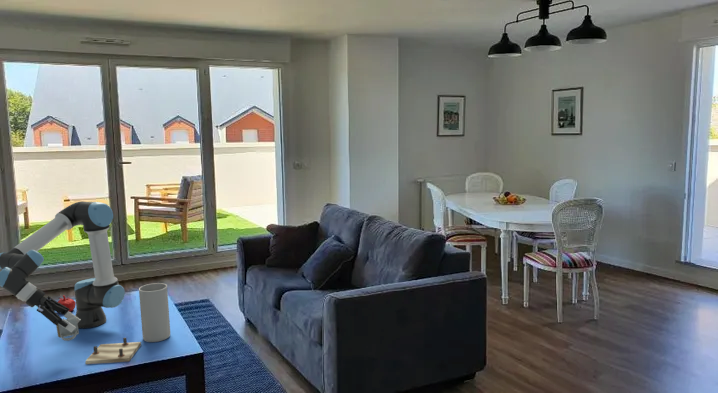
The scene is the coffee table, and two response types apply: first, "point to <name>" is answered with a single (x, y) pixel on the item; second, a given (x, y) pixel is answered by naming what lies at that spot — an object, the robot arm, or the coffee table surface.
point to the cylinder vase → (154, 312)
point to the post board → (113, 352)
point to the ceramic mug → (64, 332)
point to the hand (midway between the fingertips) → (76, 325)
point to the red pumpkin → (67, 303)
